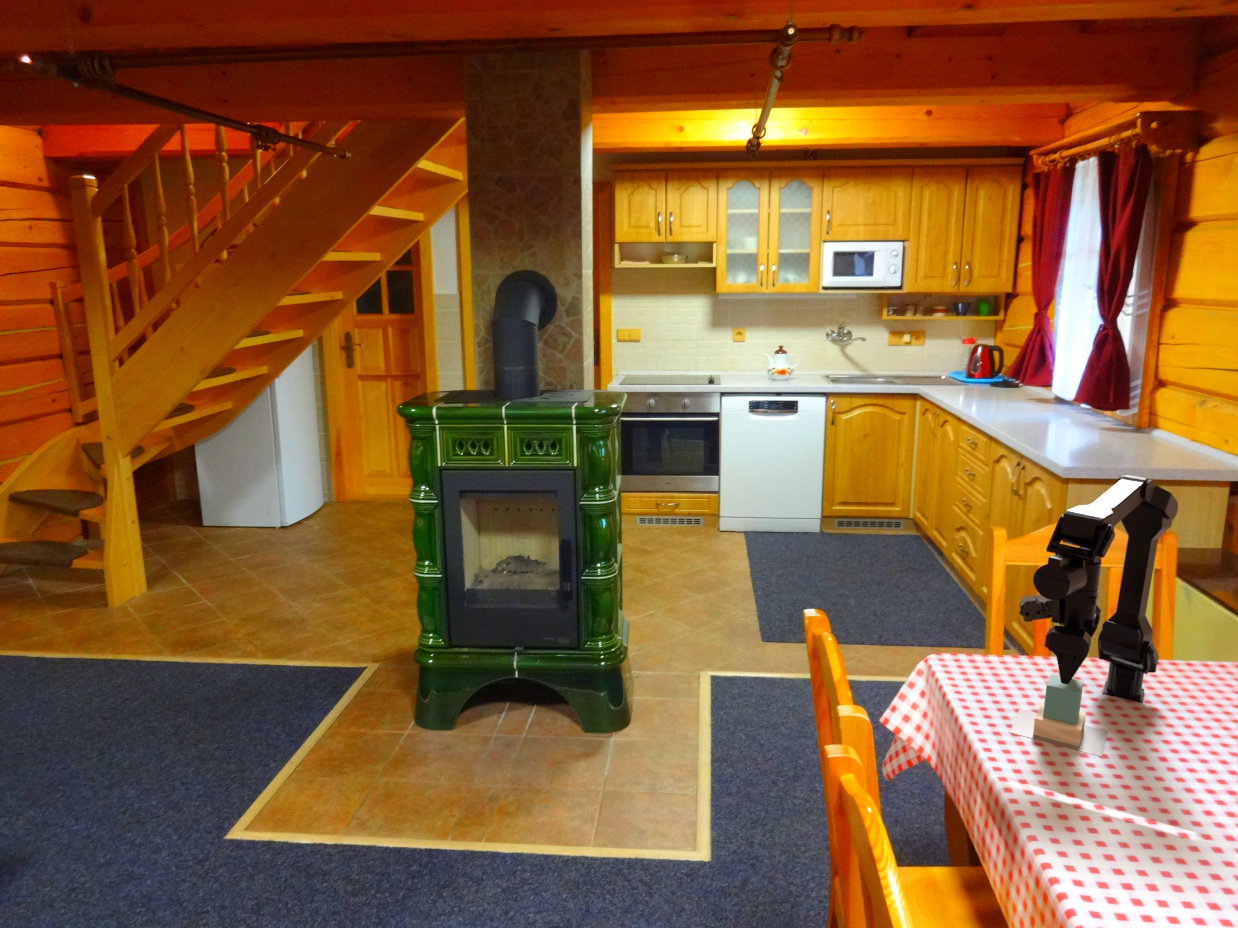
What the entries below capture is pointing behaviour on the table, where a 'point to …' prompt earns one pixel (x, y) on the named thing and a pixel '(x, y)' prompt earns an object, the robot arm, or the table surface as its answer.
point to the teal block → (1062, 700)
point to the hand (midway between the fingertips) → (1068, 673)
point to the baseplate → (1089, 742)
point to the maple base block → (1059, 728)
